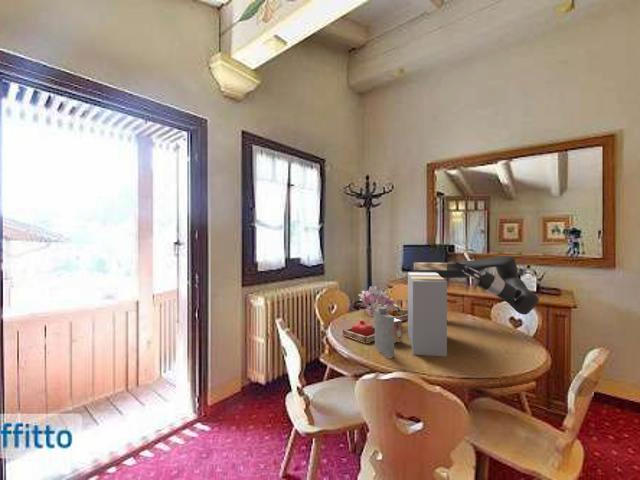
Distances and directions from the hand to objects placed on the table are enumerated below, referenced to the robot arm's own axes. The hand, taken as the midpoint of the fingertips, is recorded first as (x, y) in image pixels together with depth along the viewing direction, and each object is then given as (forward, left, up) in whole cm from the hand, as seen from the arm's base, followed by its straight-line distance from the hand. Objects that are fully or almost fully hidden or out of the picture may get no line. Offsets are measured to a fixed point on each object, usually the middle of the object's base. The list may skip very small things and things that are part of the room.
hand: (454, 263), depth 151 cm
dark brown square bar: (-5, -4, -3) cm, 7 cm away
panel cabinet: (-13, -2, -39) cm, 41 cm away
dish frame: (-40, -16, -39) cm, 58 cm away
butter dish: (-41, -17, -40) cm, 59 cm away
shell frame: (-56, +26, -39) cm, 73 cm away
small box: (-26, -12, -39) cm, 48 cm away
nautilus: (-55, +24, -39) cm, 72 cm away
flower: (-47, +4, -39) cm, 62 cm away
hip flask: (-20, -26, -39) cm, 51 cm away
